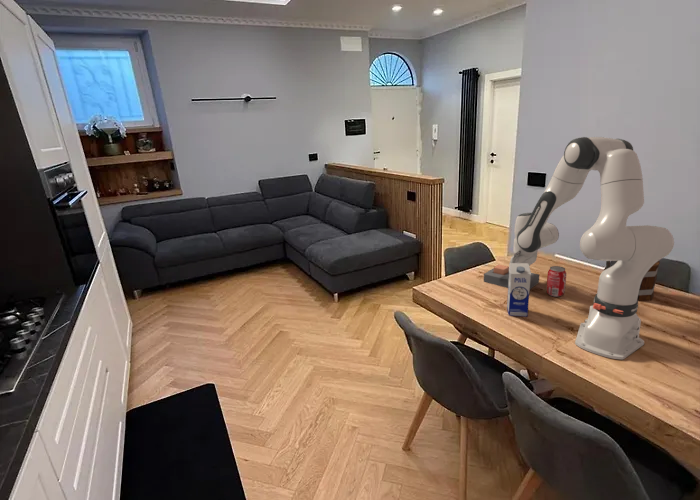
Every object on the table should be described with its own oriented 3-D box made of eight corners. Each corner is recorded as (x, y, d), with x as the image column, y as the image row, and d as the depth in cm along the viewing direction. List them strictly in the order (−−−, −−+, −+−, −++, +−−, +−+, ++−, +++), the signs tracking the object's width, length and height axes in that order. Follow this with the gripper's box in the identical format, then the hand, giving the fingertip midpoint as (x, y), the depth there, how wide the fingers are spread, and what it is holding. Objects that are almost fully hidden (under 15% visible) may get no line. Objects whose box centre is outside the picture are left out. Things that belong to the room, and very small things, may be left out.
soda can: (560, 290, 165) (562, 265, 161) (567, 297, 158) (570, 271, 154) (543, 291, 166) (545, 265, 162) (549, 298, 159) (552, 271, 155)
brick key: (503, 275, 176) (503, 269, 175) (493, 273, 180) (493, 267, 179) (508, 272, 179) (508, 266, 178) (498, 270, 183) (498, 264, 182)
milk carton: (525, 308, 152) (528, 262, 146) (527, 316, 146) (531, 269, 140) (506, 307, 154) (509, 262, 148) (508, 315, 148) (511, 268, 142)
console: (525, 292, 165) (526, 284, 164) (483, 281, 180) (483, 273, 178) (538, 282, 174) (539, 274, 173) (497, 272, 188) (498, 265, 187)
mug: (662, 296, 153) (669, 262, 148) (639, 304, 148) (646, 269, 143) (614, 280, 170) (618, 249, 165) (592, 286, 166) (597, 254, 161)
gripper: (520, 256, 159) (518, 285, 163) (540, 243, 172) (538, 271, 176) (506, 253, 163) (504, 282, 168) (526, 241, 176) (524, 268, 180)
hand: (522, 276), depth 172 cm, fingers closed, pressing on white key
